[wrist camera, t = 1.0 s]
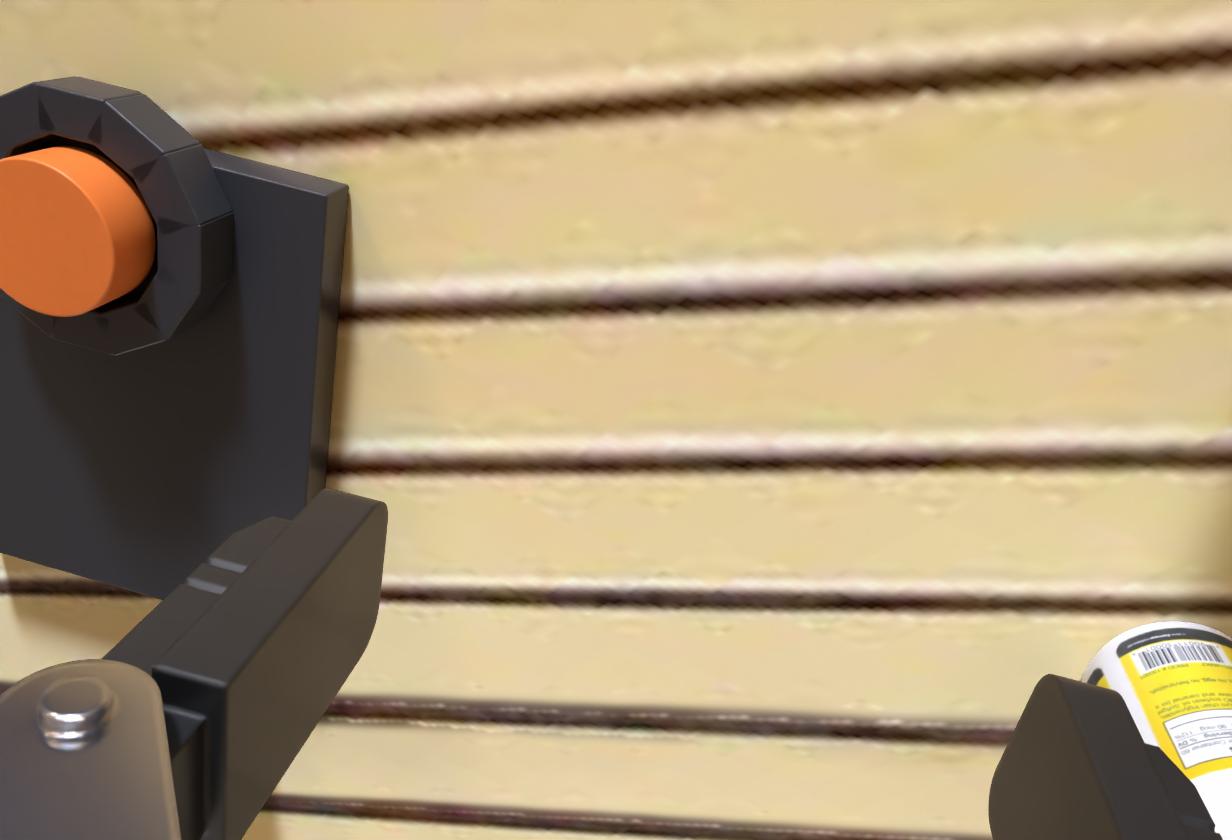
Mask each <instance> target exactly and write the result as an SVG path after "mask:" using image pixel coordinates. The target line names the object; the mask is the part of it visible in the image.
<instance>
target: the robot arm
mask: <svg viewBox="0 0 1232 840" xmlns="http://www.w3.org/2000/svg"><path fill="white" fill-rule="evenodd" d="M387 523H388V510H387V506H386V504H385V503H384V502H381V501H377V500H373V499H369V498H365V497H361V496H357V495H353V494H350V493H346V492H342V491H338V490H334V489H330V488H325V489H323V490H321V491H320V492H319V493H318V494H317V495H316V496H315V497H314V498H313V499H312V500H311V501H310V502H309V503H308V504H307V505H306V506H305V508H304V509H303V510H302V511H301V512H300V513H299V514H298V515H297V516H296V517H295V518H294V519H293V520H292V521H290V520H286V519H283V518H279V517H275V516H271V517H269V518H266V519H264V520H262V521H260V522H257V523H255V524H253V525H251V526H249V527H246V528H244V529H242V530H240V531H237V532H235V533H233V534H232V535H231V536H230V537H229V538H228V539H227V540H226V541H225V542H224V543H223V544H222V545H221V546H220V547H219V548H218V549H217V550H215V551H214V552H213V553H212V554H211V555H210V556H209V557H208V559H207V562H206V564H204V563H202V564H201V565H200V566H199V567H198V568H197V569H196V570H194V571H193V572H192V573H191V574H190V575H189V576H188V577H187V578H186V581H185V583H184V585H182V584H180V585H179V586H178V587H177V588H176V589H175V590H173V591H172V592H171V593H170V594H169V595H168V596H167V597H166V598H165V599H164V600H163V601H162V602H161V603H160V604H159V605H158V606H157V607H156V608H155V609H154V610H152V611H151V612H150V613H149V614H148V615H147V616H146V617H145V618H144V619H143V620H142V621H141V622H140V623H139V624H138V625H137V626H136V627H135V628H134V629H133V630H131V631H130V632H129V633H128V634H127V635H126V636H125V637H124V638H123V639H122V640H121V641H120V642H119V643H118V644H117V645H116V646H115V647H114V648H113V649H112V650H110V651H109V652H108V653H107V654H106V655H105V656H104V657H103V658H102V659H88V660H78V661H72V662H67V663H62V664H58V665H54V666H51V667H48V668H45V669H43V670H40V671H38V672H35V673H33V674H31V675H29V676H27V677H25V678H24V679H22V680H20V681H18V682H17V683H16V684H14V685H13V686H11V687H10V688H9V689H7V690H6V691H5V692H4V693H3V694H2V695H1V696H0V840H241V839H242V838H243V836H244V835H245V833H246V831H247V830H248V828H249V827H250V825H251V824H252V822H253V821H254V819H255V818H256V816H257V815H258V813H259V812H260V810H261V809H262V807H263V806H264V804H265V803H266V801H267V800H268V798H269V796H270V795H271V793H272V792H273V790H274V789H275V787H276V786H277V784H278V783H279V781H280V780H281V778H282V777H283V775H284V774H285V772H286V771H287V769H288V768H289V766H290V764H291V763H292V761H293V760H294V758H295V757H296V755H297V754H298V752H299V751H300V749H301V748H302V746H303V745H304V743H305V742H306V740H307V739H308V737H309V736H310V734H311V732H312V731H313V729H314V728H315V726H316V725H317V723H318V722H319V720H320V719H321V717H322V716H323V714H324V713H325V711H326V710H327V708H328V707H329V705H330V704H331V702H332V700H333V699H334V697H335V696H336V694H337V693H338V691H339V690H340V688H341V687H342V685H343V684H344V682H345V681H346V679H347V678H348V676H349V675H350V673H351V672H352V670H353V668H354V667H355V665H356V664H357V662H358V661H359V659H360V658H361V656H362V655H363V653H364V651H365V649H366V647H367V645H368V643H369V640H370V638H371V635H372V632H373V629H374V626H375V623H376V619H377V615H378V609H379V603H380V593H381V583H382V573H383V563H384V553H385V543H386V533H387ZM989 823H990V828H991V833H992V837H993V840H1223V839H1222V837H1221V835H1220V833H1216V832H1215V826H1216V825H1215V823H1214V821H1213V820H1212V818H1211V816H1210V814H1209V812H1208V810H1207V808H1206V806H1205V804H1204V802H1203V800H1202V798H1201V796H1200V794H1199V792H1198V790H1197V789H1196V787H1195V785H1194V784H1193V783H1192V782H1191V781H1190V780H1189V779H1188V778H1187V777H1186V775H1185V774H1184V773H1183V772H1182V771H1181V770H1180V769H1179V768H1178V767H1177V766H1176V765H1175V764H1174V763H1173V762H1172V760H1171V759H1170V758H1169V757H1168V756H1167V755H1166V754H1165V753H1164V752H1163V751H1162V750H1161V749H1160V748H1159V747H1158V746H1154V745H1150V744H1146V743H1144V741H1143V738H1142V736H1141V734H1140V732H1139V730H1138V728H1137V726H1136V724H1135V722H1134V720H1133V718H1132V715H1131V713H1130V711H1129V709H1128V707H1127V705H1126V703H1125V701H1124V699H1123V697H1122V696H1121V695H1120V694H1119V693H1118V692H1117V691H1115V690H1112V689H1108V688H1104V687H1100V686H1096V685H1092V684H1088V683H1084V682H1080V681H1076V680H1072V679H1068V678H1065V677H1061V676H1057V675H1053V674H1048V675H1045V676H1044V677H1043V678H1042V679H1041V680H1040V681H1039V682H1038V683H1037V685H1036V687H1035V689H1034V690H1033V693H1032V695H1031V697H1030V699H1029V701H1028V703H1027V705H1026V707H1025V709H1024V711H1023V713H1022V716H1021V718H1020V720H1019V722H1018V724H1017V726H1016V728H1015V730H1014V732H1013V734H1012V737H1011V739H1010V741H1009V743H1008V745H1007V747H1006V749H1005V751H1004V753H1003V755H1002V758H1001V760H1000V762H999V764H998V766H997V768H996V771H995V773H994V776H993V780H992V784H991V788H990V795H989Z"/></svg>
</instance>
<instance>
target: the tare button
mask: <svg viewBox="0 0 1232 840" xmlns="http://www.w3.org/2000/svg"><path fill="white" fill-rule="evenodd" d="M155 251H156V237H155V229H154V224H153V221H152V217H151V214H150V212H149V209H148V207H147V205H146V203H145V201H144V199H143V197H142V195H141V194H140V192H139V191H138V189H137V188H136V186H135V185H134V184H133V183H132V181H131V180H130V179H129V178H128V177H127V176H126V175H125V174H124V173H123V172H122V171H121V170H120V169H119V168H118V167H116V166H115V165H114V164H112V163H111V162H110V161H108V160H107V159H105V158H103V157H102V156H100V155H98V154H95V153H93V152H91V151H88V150H85V149H82V148H77V147H72V146H57V147H51V148H46V149H42V150H38V151H34V152H29V153H25V154H21V155H16V156H12V157H8V158H4V159H0V288H1V289H2V290H3V291H4V292H5V293H6V294H8V295H9V296H10V297H12V298H13V299H14V300H16V301H17V302H19V303H20V304H22V305H24V306H25V307H27V308H30V309H32V310H34V311H36V312H39V313H42V314H46V315H51V316H58V317H71V316H77V315H81V314H84V313H86V312H89V311H91V310H93V309H95V308H97V307H99V306H102V305H104V304H106V303H108V302H110V301H112V300H114V299H116V298H119V297H121V296H123V295H125V294H127V293H129V292H131V291H132V290H134V289H135V288H137V287H138V286H139V285H140V284H141V283H142V282H143V281H144V279H145V278H146V277H147V275H148V273H149V271H150V269H151V267H152V264H153V261H154V257H155Z"/></svg>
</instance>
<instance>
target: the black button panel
mask: <svg viewBox="0 0 1232 840" xmlns="http://www.w3.org/2000/svg"><path fill="white" fill-rule="evenodd" d="M57 146H72V147H77V148H82V149H85V150H88V151H91V152H93V153H95V154H98V155H100V156H102V157H103V158H105V159H107V160H108V161H110V162H111V163H112V164H114V165H115V166H116V167H118V168H119V169H120V170H121V171H122V172H123V173H124V174H125V175H126V176H127V177H128V178H129V179H130V180H131V181H132V183H133V184H134V185H135V186H136V188H137V189H138V191H139V192H140V194H141V195H142V197H143V199H144V201H145V203H146V205H147V207H148V209H149V212H150V214H151V217H152V221H153V224H154V229H155V237H156V251H155V257H154V261H153V264H152V267H151V269H150V271H149V273H148V275H147V277H146V278H145V279H144V281H143V282H142V283H141V284H140V285H139V286H138V287H137V288H135V289H134V290H132V291H131V292H129V293H127V294H125V295H123V296H121V297H119V298H116V299H114V300H112V301H110V302H108V303H106V304H104V305H102V306H99V307H97V308H95V309H93V310H91V311H89V312H86V313H84V314H81V315H77V316H71V317H58V316H51V315H46V314H42V313H39V312H36V311H34V310H32V309H30V308H27V307H25V306H24V305H22V304H20V303H19V302H17V301H16V300H14V299H13V298H12V297H10V296H9V295H8V294H6V293H5V292H4V291H3V290H2V289H1V288H0V553H3V554H7V555H10V556H14V557H17V558H21V559H24V560H27V561H31V562H34V563H38V564H41V565H45V566H48V567H52V568H55V569H58V570H62V571H65V572H69V573H72V574H76V575H79V576H82V577H86V578H89V579H93V580H96V581H100V582H103V583H107V584H110V585H113V586H117V587H120V588H124V589H127V590H131V591H134V592H137V593H141V594H144V595H148V596H151V597H155V598H158V599H161V600H164V599H165V598H166V597H167V596H168V595H169V594H170V593H171V592H172V591H173V590H175V589H176V588H177V587H178V586H179V585H180V584H182V585H184V583H185V581H186V578H187V577H188V576H189V575H190V574H191V573H192V572H193V571H194V570H196V569H197V568H198V567H199V566H200V565H201V564H202V563H204V564H206V562H207V559H208V557H209V556H210V555H211V554H212V553H213V552H214V551H215V550H217V549H218V548H219V547H220V546H221V545H222V544H223V543H224V542H225V541H226V540H227V539H228V538H229V537H230V536H231V535H232V534H233V533H235V532H237V531H240V530H242V529H244V528H246V527H249V526H251V525H253V524H255V523H257V522H260V521H262V520H264V519H266V518H269V517H271V516H275V517H279V518H283V519H286V520H290V521H292V520H293V519H294V518H295V517H296V516H297V515H298V514H299V513H300V512H301V511H302V510H303V509H304V508H305V506H306V505H307V504H308V503H309V502H310V501H311V500H312V499H313V498H314V497H315V496H316V495H317V494H318V493H319V492H320V491H321V490H323V489H325V483H326V470H327V457H328V444H329V432H330V419H331V406H332V393H333V380H334V368H335V355H336V342H337V329H338V317H339V304H340V291H341V278H342V265H343V253H344V240H345V227H346V214H347V202H348V189H349V187H348V185H346V184H342V183H339V182H335V181H331V180H327V179H323V178H319V177H315V176H311V175H307V174H303V173H299V172H295V171H291V170H288V169H284V168H280V167H276V166H272V165H268V164H264V163H260V162H256V161H252V160H248V159H244V158H240V157H237V156H233V155H229V154H225V153H221V152H217V151H213V150H209V149H205V148H203V146H202V145H201V144H200V143H199V141H197V140H196V139H195V138H194V137H193V136H192V135H191V134H189V133H188V132H187V131H186V130H185V129H184V128H183V127H181V126H180V125H179V124H178V123H177V122H176V121H175V120H173V119H172V118H171V117H170V116H169V115H168V114H167V113H165V112H164V111H163V110H162V109H161V108H160V107H159V106H157V105H156V104H155V103H154V102H153V101H152V100H151V99H150V98H148V97H147V96H146V95H144V94H142V93H140V92H138V91H134V90H130V89H126V88H122V87H118V86H114V85H110V84H106V83H102V82H98V81H94V80H90V79H86V78H82V77H68V78H61V79H54V80H47V81H40V82H33V83H31V84H28V85H26V86H23V87H21V88H18V89H16V90H14V91H11V92H9V93H6V94H4V95H1V96H0V159H4V158H8V157H12V156H16V155H21V154H25V153H29V152H34V151H38V150H42V149H46V148H51V147H57Z"/></svg>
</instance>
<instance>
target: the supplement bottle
mask: <svg viewBox="0 0 1232 840" xmlns="http://www.w3.org/2000/svg"><path fill="white" fill-rule="evenodd" d="M1081 682H1084V683H1088V684H1092V685H1096V686H1100V687H1104V688H1108V689H1112V690H1115V691H1117V692H1118V693H1119V694H1120V695H1121V696H1122V697H1123V699H1124V701H1125V703H1126V705H1127V707H1128V709H1129V711H1130V713H1131V715H1132V718H1133V720H1134V722H1135V724H1136V726H1137V728H1138V730H1139V732H1140V734H1141V736H1142V738H1143V741H1144V743H1146V744H1150V745H1154V746H1158V747H1159V748H1160V749H1161V750H1162V751H1163V752H1164V753H1165V754H1166V755H1167V756H1168V757H1169V758H1170V759H1171V760H1172V762H1173V763H1174V764H1175V765H1176V766H1177V767H1178V768H1179V769H1180V770H1181V771H1182V772H1183V773H1184V774H1185V775H1186V777H1187V778H1188V779H1189V780H1190V781H1191V782H1192V783H1193V784H1194V785H1195V787H1196V789H1197V790H1198V792H1199V794H1200V796H1201V798H1202V800H1203V802H1204V804H1205V806H1206V808H1207V810H1208V812H1209V814H1210V816H1211V818H1212V820H1213V821H1214V823H1215V825H1216V826H1215V832H1216V833H1220V835H1221V837H1222V839H1223V840H1232V638H1231V637H1229V636H1227V635H1226V634H1224V633H1222V632H1220V631H1218V630H1215V629H1213V628H1210V627H1207V626H1204V625H1200V624H1196V623H1191V622H1182V621H1165V622H1156V623H1150V624H1146V625H1142V626H1139V627H1136V628H1133V629H1131V630H1128V631H1126V632H1124V633H1122V634H1120V635H1118V636H1116V637H1115V638H1113V639H1112V640H1110V641H1109V642H1108V643H1107V644H1105V645H1104V646H1103V647H1102V648H1101V649H1100V650H1099V651H1098V652H1097V653H1096V654H1095V656H1094V657H1093V658H1092V659H1091V661H1090V662H1089V664H1088V666H1087V667H1086V669H1085V671H1084V673H1083V676H1082V679H1081Z"/></svg>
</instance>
